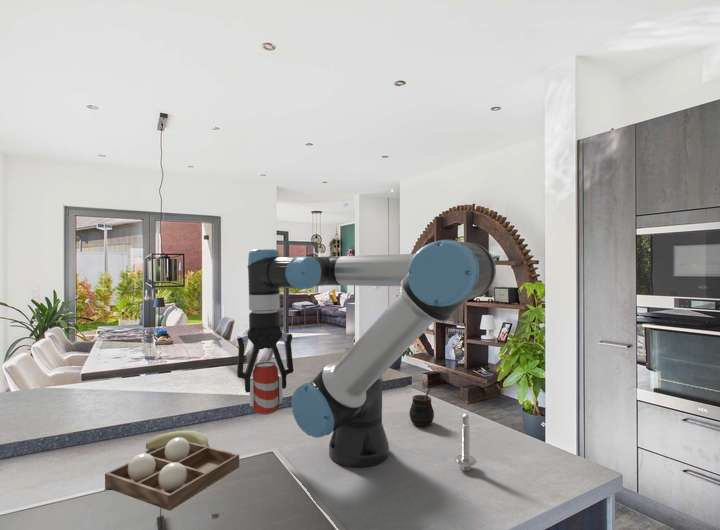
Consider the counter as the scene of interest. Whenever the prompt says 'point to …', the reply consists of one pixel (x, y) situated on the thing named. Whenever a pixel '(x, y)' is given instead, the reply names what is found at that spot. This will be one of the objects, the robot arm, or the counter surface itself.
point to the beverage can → (265, 388)
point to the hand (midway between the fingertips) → (266, 402)
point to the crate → (201, 473)
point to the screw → (465, 447)
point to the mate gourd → (421, 410)
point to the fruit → (165, 438)
